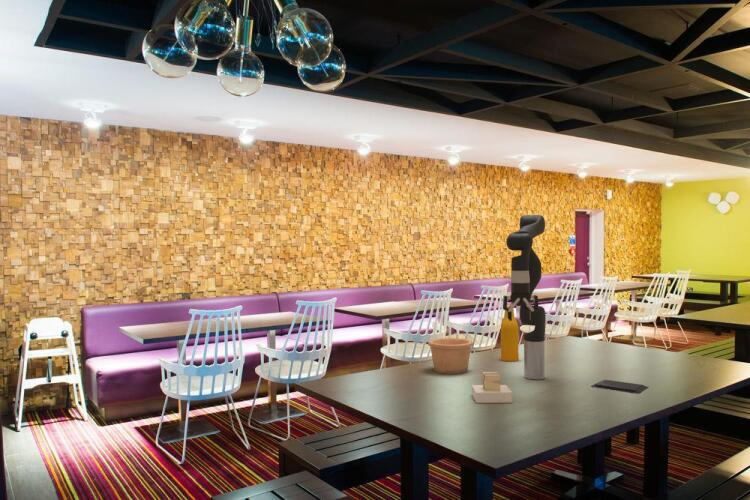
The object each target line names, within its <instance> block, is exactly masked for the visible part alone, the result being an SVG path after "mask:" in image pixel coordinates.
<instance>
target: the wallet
mask: <svg viewBox="0 0 750 500" xmlns="http://www.w3.org/2000/svg"><path fill="white" fill-rule="evenodd" d="M590 387H591V388H597V389H602V390H608V389H609V390H610V391H615V390H616V391H618V392H622V393H629V394H636V395H639V394H641V393H643V392H644V391H645V390H647V389H648V388H649V386H646V385H644V384H639V383H632V382H626V381H625V382H624V381H618V380H611V379H603V380H601V381H597V382H596V383H594V384H591V385H590Z"/></svg>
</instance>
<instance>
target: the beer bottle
mask: <svg viewBox="0 0 750 500" xmlns="http://www.w3.org/2000/svg"><path fill="white" fill-rule="evenodd" d="M509 306H510V305H507V308H508V307H509ZM514 310H515V308H513V309H512V310H511V312H512V321H509V319H508V313H507V311H506V310H504V313H503V319H502V321H501V323H500V358H501V361H503V362H510V361H511V362H517V361H519V355H520V354H519V325H518V322H517V320H516V317H515V313H514V312H515V311H514Z"/></svg>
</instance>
